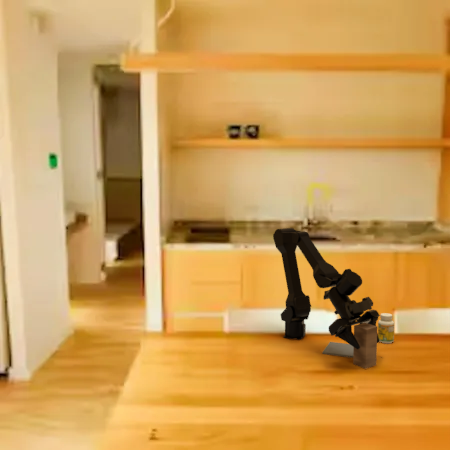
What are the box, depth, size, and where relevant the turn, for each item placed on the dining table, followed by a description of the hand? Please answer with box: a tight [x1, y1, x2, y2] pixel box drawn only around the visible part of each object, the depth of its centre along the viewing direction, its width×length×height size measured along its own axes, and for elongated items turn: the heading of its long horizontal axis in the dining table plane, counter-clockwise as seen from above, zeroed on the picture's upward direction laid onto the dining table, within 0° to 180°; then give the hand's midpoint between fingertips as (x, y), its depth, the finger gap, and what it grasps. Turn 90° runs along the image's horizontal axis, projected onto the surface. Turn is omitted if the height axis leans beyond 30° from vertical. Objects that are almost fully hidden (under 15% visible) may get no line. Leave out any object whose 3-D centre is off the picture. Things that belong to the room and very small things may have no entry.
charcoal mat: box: [322, 341, 354, 359], centre depth 197 cm, size 11×11×1 cm
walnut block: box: [352, 323, 378, 369], centre depth 184 cm, size 5×5×12 cm
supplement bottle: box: [377, 312, 395, 344], centre depth 205 cm, size 5×5×10 cm
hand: (368, 345), depth 182 cm, fingers open, 9 cm apart
